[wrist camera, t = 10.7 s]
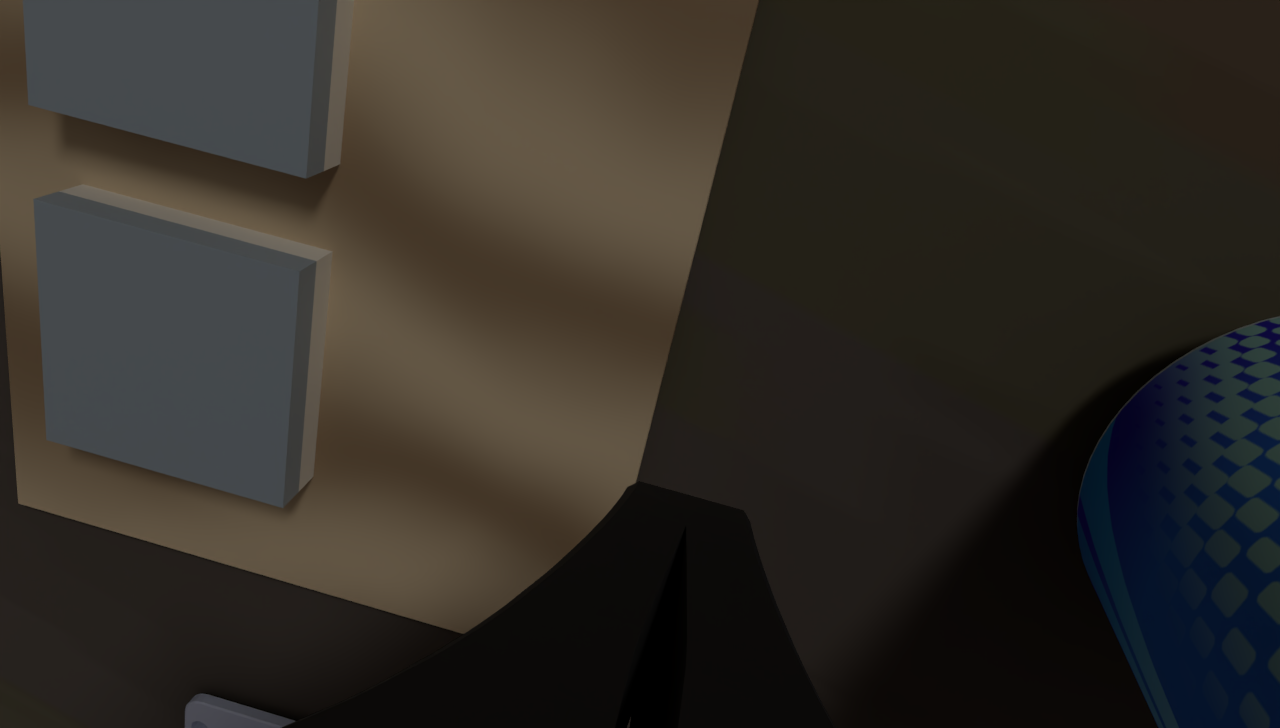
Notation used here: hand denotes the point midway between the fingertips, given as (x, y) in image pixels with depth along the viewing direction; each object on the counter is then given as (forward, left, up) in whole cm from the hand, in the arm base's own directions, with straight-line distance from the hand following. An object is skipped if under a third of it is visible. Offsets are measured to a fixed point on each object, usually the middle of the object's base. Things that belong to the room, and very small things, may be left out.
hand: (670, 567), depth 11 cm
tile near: (+4, +9, -9) cm, 13 cm away
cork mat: (0, +9, -10) cm, 14 cm away
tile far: (-4, +9, -9) cm, 14 cm away
